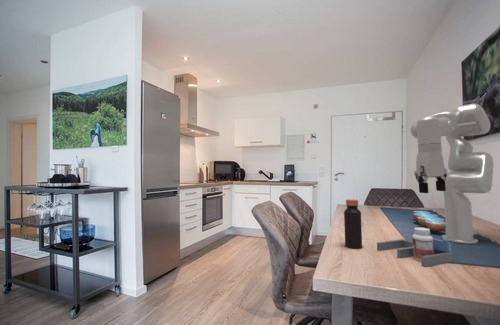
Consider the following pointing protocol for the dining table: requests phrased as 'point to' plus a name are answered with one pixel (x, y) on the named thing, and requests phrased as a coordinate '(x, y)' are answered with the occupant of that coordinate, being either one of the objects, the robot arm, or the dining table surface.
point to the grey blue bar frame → (440, 256)
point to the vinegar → (352, 225)
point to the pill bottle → (422, 243)
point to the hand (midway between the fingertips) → (432, 191)
